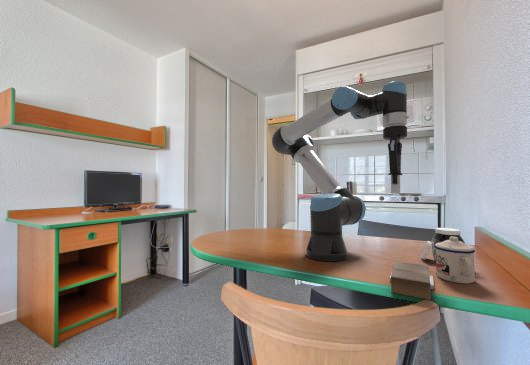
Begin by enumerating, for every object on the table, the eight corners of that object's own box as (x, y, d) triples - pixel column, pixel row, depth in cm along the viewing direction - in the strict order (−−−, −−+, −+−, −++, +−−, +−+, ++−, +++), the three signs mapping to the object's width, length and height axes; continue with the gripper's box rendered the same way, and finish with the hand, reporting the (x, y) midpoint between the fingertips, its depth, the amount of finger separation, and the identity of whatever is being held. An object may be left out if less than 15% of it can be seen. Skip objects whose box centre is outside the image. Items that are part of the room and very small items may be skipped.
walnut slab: (428, 280, 64) (430, 299, 56) (394, 274, 68) (391, 292, 60) (428, 265, 64) (430, 283, 55) (394, 260, 68) (390, 276, 60)
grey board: (389, 281, 67) (389, 277, 67) (392, 272, 74) (392, 269, 74) (433, 289, 61) (433, 285, 61) (432, 279, 68) (432, 275, 68)
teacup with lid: (429, 271, 74) (428, 233, 75) (463, 273, 73) (462, 234, 73) (451, 287, 63) (449, 242, 63) (492, 290, 61) (490, 243, 61)
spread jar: (470, 269, 77) (469, 232, 77) (430, 267, 79) (430, 231, 79) (450, 258, 89) (449, 226, 89) (415, 256, 91) (415, 225, 91)
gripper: (404, 121, 79) (405, 194, 78) (409, 129, 89) (410, 193, 89) (379, 124, 83) (380, 193, 83) (386, 131, 94) (387, 193, 93)
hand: (395, 193), depth 86 cm, fingers closed
